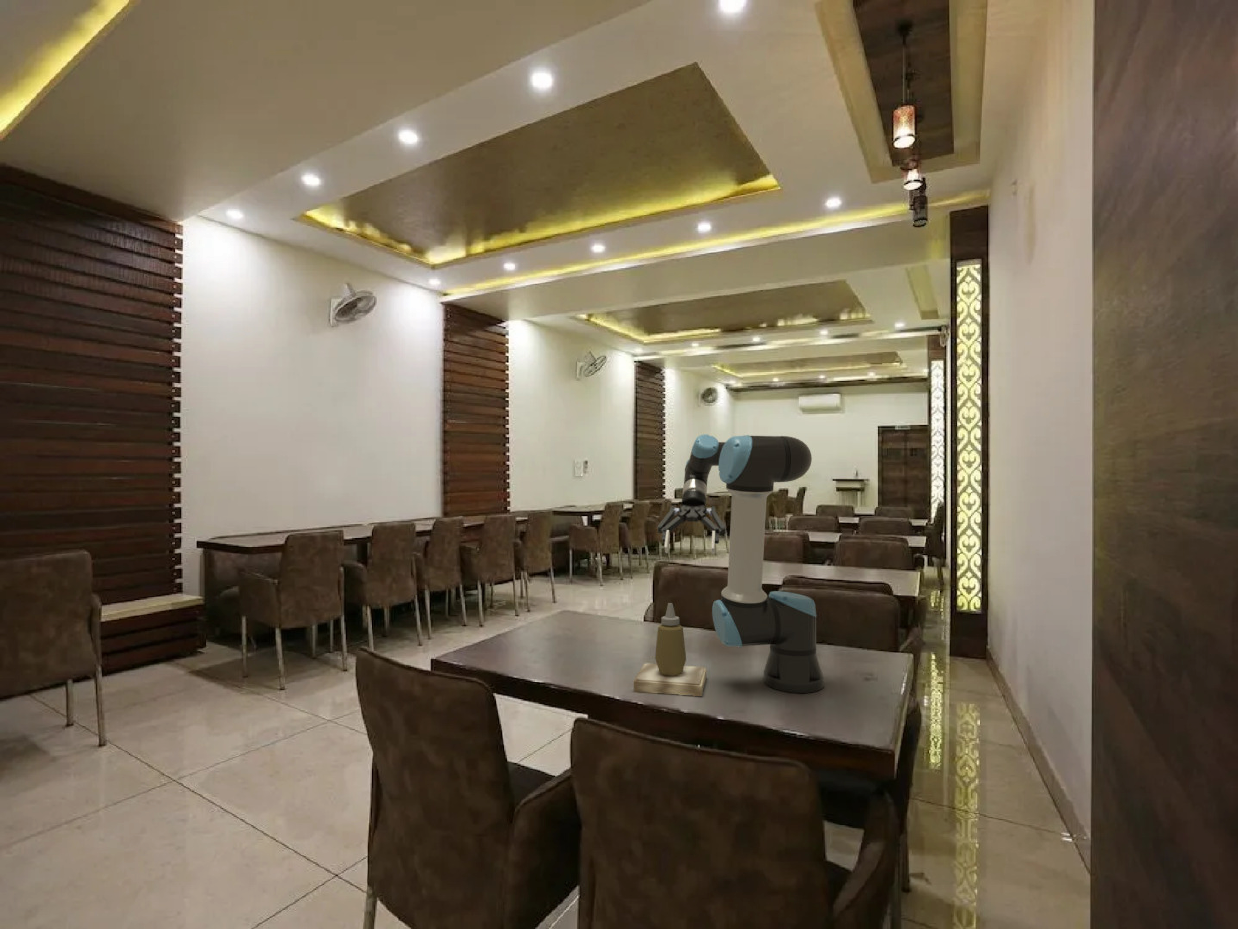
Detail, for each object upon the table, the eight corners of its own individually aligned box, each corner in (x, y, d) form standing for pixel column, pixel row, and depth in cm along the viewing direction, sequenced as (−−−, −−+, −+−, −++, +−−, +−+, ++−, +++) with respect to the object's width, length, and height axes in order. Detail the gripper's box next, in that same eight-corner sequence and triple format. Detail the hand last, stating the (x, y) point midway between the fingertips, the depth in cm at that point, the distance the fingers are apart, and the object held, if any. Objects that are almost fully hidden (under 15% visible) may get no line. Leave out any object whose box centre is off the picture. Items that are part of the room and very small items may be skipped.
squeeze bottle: (661, 679, 148) (660, 607, 148) (651, 669, 156) (650, 601, 156) (691, 676, 150) (690, 605, 150) (679, 666, 158) (679, 599, 158)
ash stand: (706, 678, 157) (706, 666, 158) (701, 697, 144) (701, 684, 144) (644, 673, 161) (644, 662, 161) (633, 691, 148) (633, 679, 148)
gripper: (734, 505, 185) (733, 559, 170) (656, 504, 190) (648, 557, 175) (734, 488, 179) (732, 543, 165) (653, 488, 185) (645, 541, 170)
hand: (689, 550), depth 170 cm, fingers open, 13 cm apart
